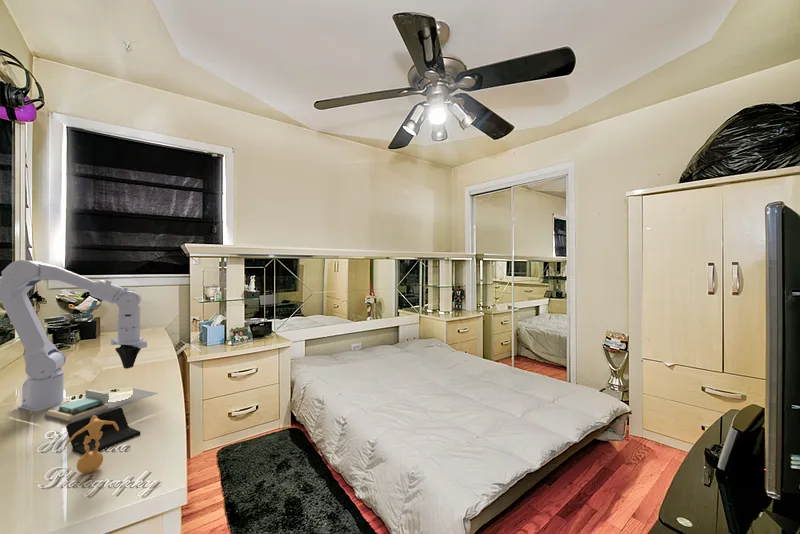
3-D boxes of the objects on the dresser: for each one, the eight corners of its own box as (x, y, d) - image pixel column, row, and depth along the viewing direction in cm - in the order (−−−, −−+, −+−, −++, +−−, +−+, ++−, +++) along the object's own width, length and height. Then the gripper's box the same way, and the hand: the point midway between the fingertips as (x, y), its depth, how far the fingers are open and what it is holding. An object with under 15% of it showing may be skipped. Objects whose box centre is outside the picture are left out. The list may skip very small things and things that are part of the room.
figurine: (112, 458, 71) (113, 404, 71) (122, 467, 68) (123, 410, 68) (58, 479, 64) (59, 418, 64) (67, 490, 61) (68, 426, 61)
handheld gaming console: (93, 451, 72) (80, 410, 74) (71, 468, 72) (59, 427, 75) (145, 433, 83) (133, 398, 85) (126, 448, 83) (114, 413, 86)
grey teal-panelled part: (53, 414, 90) (53, 399, 90) (90, 402, 98) (90, 388, 98) (73, 419, 87) (73, 403, 87) (109, 406, 95) (110, 392, 95)
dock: (44, 417, 90) (44, 409, 90) (133, 389, 111) (133, 383, 111) (71, 424, 86) (71, 416, 86) (158, 394, 107) (158, 387, 107)
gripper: (156, 326, 110) (156, 366, 110) (127, 323, 115) (127, 362, 115) (133, 330, 103) (133, 372, 103) (104, 327, 108) (103, 367, 108)
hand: (128, 367), depth 108 cm, fingers closed
